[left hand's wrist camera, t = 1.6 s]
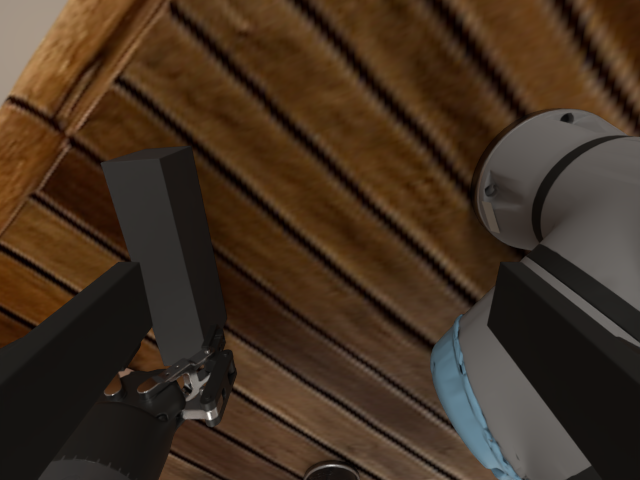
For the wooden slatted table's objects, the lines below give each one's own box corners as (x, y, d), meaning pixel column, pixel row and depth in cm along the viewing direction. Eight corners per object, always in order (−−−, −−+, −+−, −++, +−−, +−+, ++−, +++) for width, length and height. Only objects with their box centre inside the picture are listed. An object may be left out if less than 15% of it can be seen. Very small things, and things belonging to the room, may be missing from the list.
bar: (144, 149, 37) (100, 162, 29) (191, 145, 37) (159, 158, 29) (189, 320, 45) (164, 366, 37) (227, 318, 45) (209, 363, 37)
